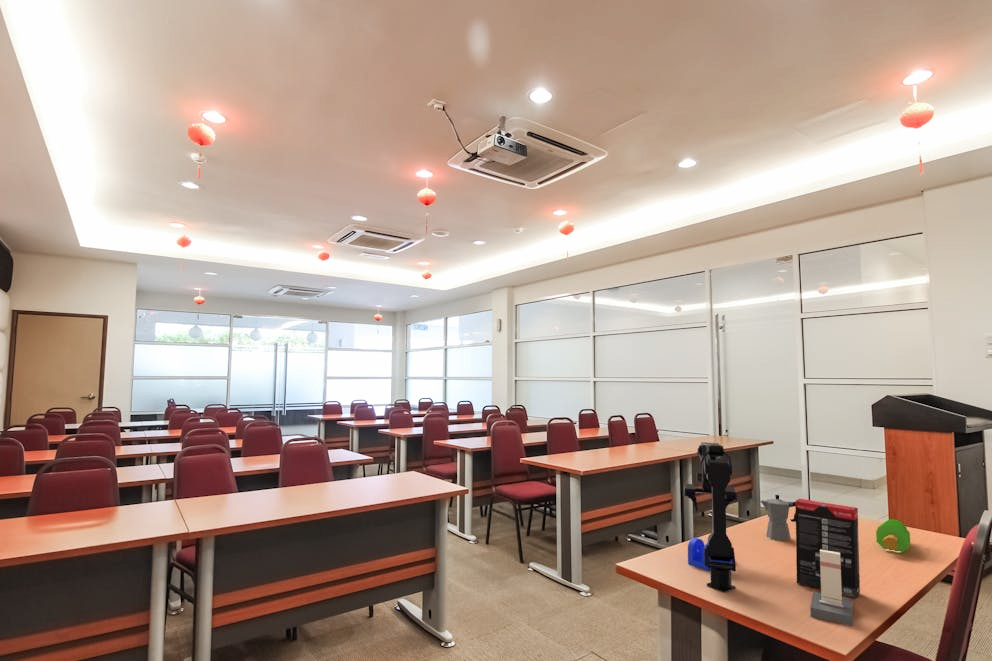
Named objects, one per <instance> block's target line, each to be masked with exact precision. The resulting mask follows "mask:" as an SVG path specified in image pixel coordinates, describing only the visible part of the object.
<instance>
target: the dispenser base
mask: <svg viewBox="0 0 992 661" xmlns="http://www.w3.org/2000/svg"><path fill="white" fill-rule="evenodd" d="M853 605H854V604H853V598H846V597H843V596H842V605H841V604H836V603H831V602H827V601H822V600H821V592H818V591H814V590H813V591H812V596H811V601H810V608H809V609H810V613H809V614H810V617H812V618H816V619H820V620H825V621H829V622H833V623H837V624H842V625H845V626H851V627H853V626H854V620H853V619H854V612H853V610H854V608H853V607H854V606H853Z"/></svg>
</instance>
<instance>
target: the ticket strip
mask: <svg viewBox="0 0 992 661" xmlns="http://www.w3.org/2000/svg"><path fill="white" fill-rule="evenodd" d="M820 572H821V589H820V593H821V600H822V601H827V602H831V603H836V604H841V605H842V597H843V595H842V590H841V562H840V553H839V552H833V551H827V550H821V549H820Z"/></svg>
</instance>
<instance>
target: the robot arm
mask: <svg viewBox="0 0 992 661" xmlns="http://www.w3.org/2000/svg"><path fill="white" fill-rule="evenodd" d="M696 453H697V454H696V455H698V457H699V459H700V464H701V472H696V482H700V486H701V487H696V486H695V484H693V483H684V484H683V493H684V497H687V498H688V499H691V502H692V504H693V506H694V508H695V512H697V513H698V511H699V510H698V503H697V501H698V500H697V495H696V494H705V495H706V494H707V495H711V519H712V520H711V521H712V526H711V527H712V531H711V533H710V534H709V535H708V537H707V543H708V545H706V544H705V545H706V547H705V549H704V558H705V566H707V567H708V568H711V571H710V582H707V583H706V586H707V587H709V588H712V589H715V590H718V591H720V592H723V593H726V592H728V591H731V590H732V591H733V590H734V589H737V587H736V586H735V585H733V584H732V571H734V572H736V571H737V564H736V555H735V550H734V547H733V544H732V541H731V540H730V538H729V537H728V535H727V507H728V506H729V505H730V503H731V502H733V503H734V501H737V500H738V492H737V489H736V488H735V487H734V486H729V483H730V482H731V476H733V466H732V459H731V457H730V456H729V455H728V454H727V452H725V449H724V445H721V444H719V442H702V441H701V442H700V444H699V446H698V447H697V451H696ZM720 458H721V460H718V459H720ZM709 557H710V560H716V561H725V562H730V561H731V560H732V563H724V562H715V561H709Z"/></svg>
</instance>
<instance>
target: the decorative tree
mask: <svg viewBox="0 0 992 661" xmlns="http://www.w3.org/2000/svg"><path fill="white" fill-rule="evenodd" d="M875 535H876V537H875V538H876V543H877V544H878V545H879V546H880V547H882V549H883V550H884V549H889V550H895V551H901V552H902V553H903V552H905V551H907V550H908V549H909V548H910V544H911V532H910V531H909V530H908V529H907V526H906V525H905V524H904V523H903V522H902V521H900V520H899V519H897V520H896V519H891V518H889V519H887V520H886V521H884V522H883V523H882V524H881V525H879V526H878V527H877V528H876V534H875Z"/></svg>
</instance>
